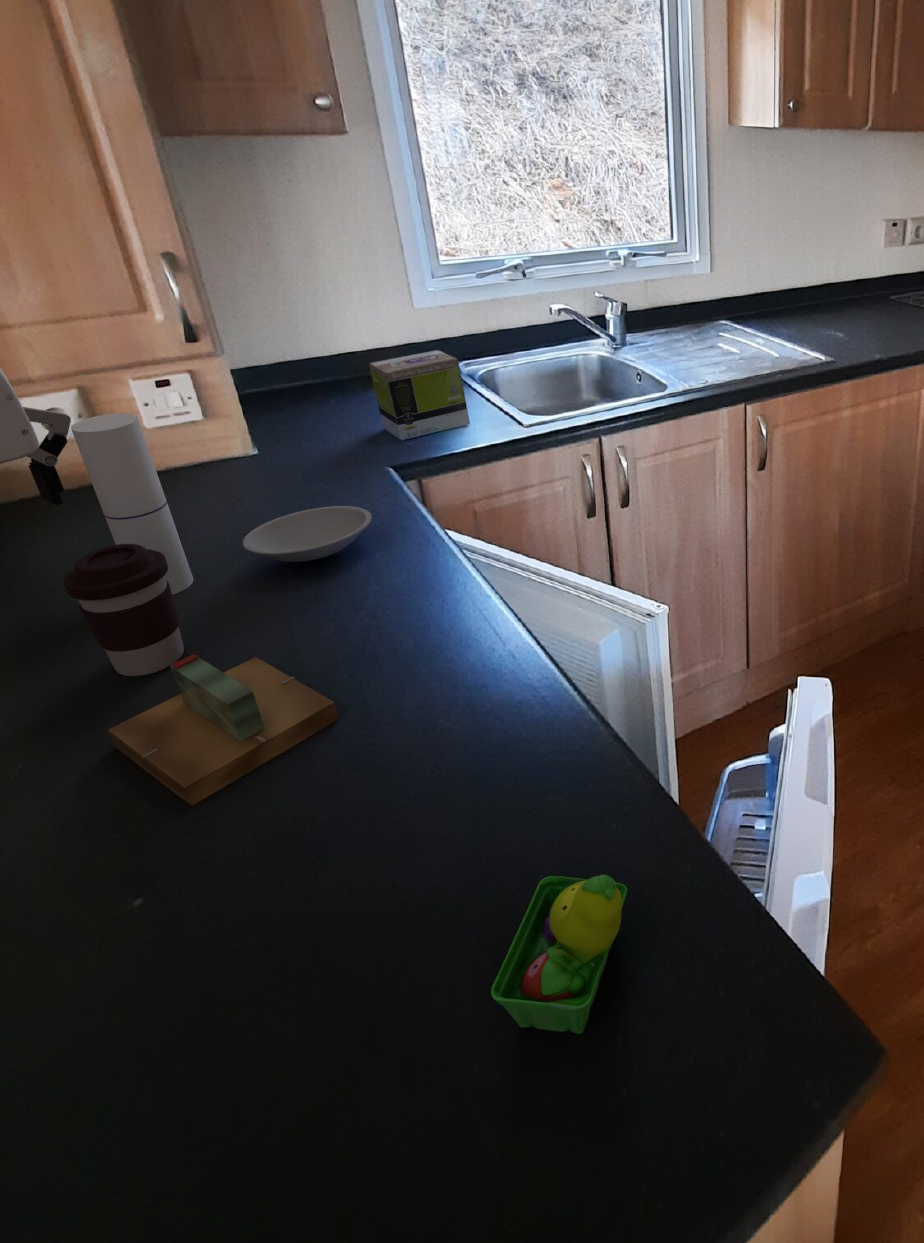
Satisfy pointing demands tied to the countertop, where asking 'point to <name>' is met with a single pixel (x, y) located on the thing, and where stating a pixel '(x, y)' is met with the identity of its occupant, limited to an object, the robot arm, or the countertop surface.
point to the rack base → (222, 733)
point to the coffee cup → (128, 607)
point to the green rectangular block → (217, 697)
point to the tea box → (419, 394)
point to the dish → (308, 533)
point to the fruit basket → (560, 952)
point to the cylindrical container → (131, 489)
